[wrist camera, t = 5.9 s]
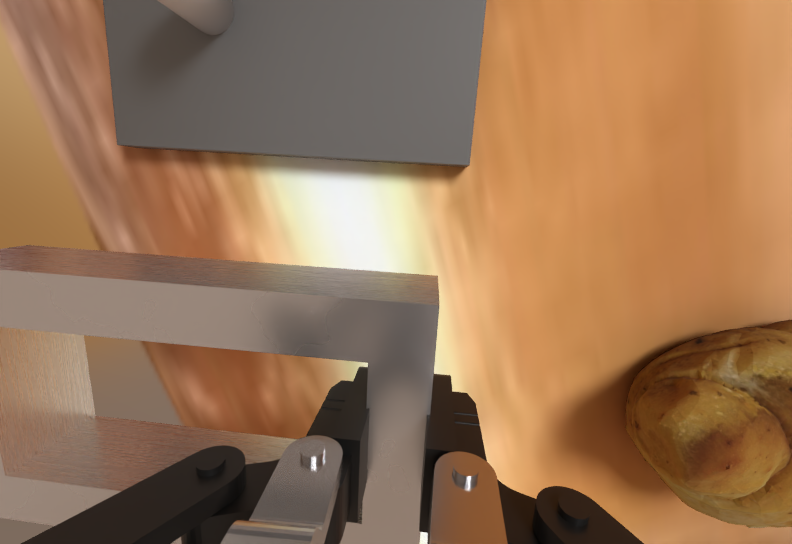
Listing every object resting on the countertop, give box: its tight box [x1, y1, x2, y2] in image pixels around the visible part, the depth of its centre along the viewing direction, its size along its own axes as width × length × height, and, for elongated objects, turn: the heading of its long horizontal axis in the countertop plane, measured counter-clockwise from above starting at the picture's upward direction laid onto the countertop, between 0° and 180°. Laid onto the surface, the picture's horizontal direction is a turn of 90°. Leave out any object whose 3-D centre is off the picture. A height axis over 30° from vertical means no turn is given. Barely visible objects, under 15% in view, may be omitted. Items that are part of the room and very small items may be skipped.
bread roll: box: [625, 320, 792, 528], centre depth 19 cm, size 13×10×8 cm
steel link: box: [0, 245, 439, 544], centre depth 11 cm, size 14×8×3 cm, turn 87°
